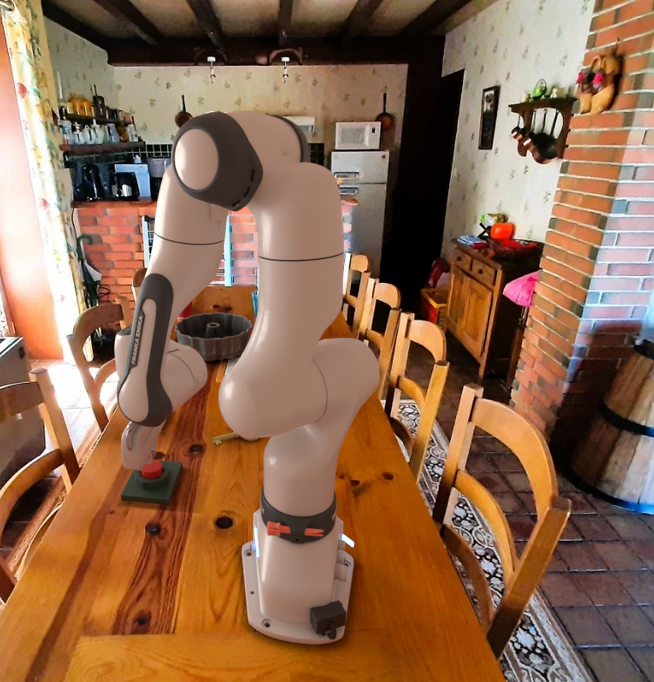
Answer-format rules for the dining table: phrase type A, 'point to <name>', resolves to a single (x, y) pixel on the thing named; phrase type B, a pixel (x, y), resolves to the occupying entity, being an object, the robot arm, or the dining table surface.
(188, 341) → the bundt pan
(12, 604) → the dining table surface
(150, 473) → the button
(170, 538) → the dining table surface
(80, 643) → the dining table surface
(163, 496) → the switch box
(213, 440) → the key
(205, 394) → the dining table surface
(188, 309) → the paper cup
